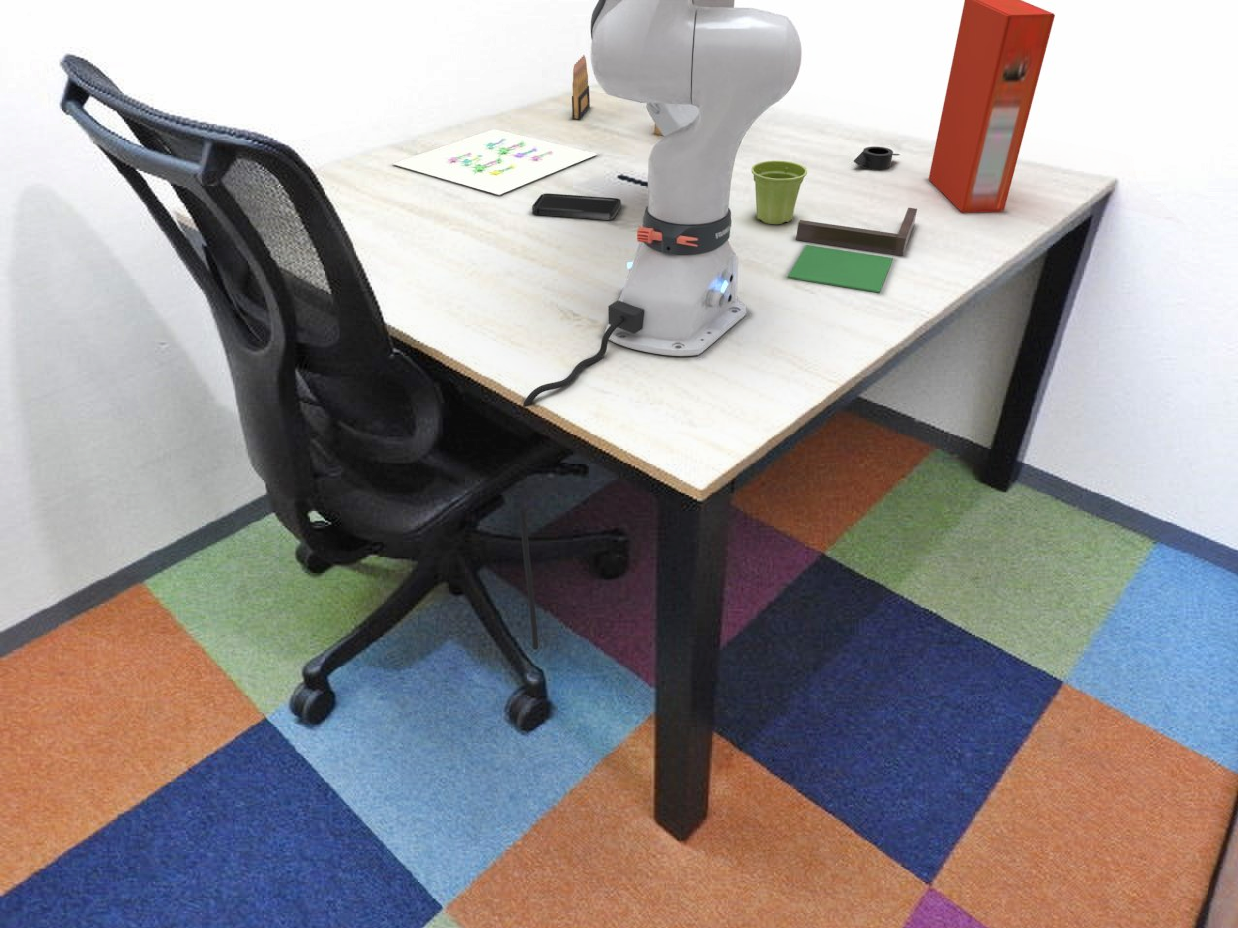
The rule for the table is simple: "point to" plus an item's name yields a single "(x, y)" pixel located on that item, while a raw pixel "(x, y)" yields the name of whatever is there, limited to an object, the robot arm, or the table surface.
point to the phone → (576, 206)
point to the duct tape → (875, 158)
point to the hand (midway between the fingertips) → (715, 143)
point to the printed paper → (495, 160)
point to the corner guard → (858, 235)
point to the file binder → (988, 101)
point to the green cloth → (841, 268)
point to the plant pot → (777, 189)
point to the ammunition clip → (580, 90)
